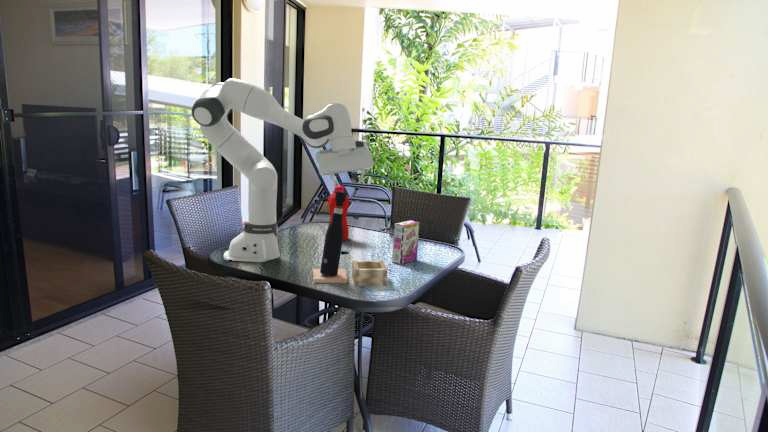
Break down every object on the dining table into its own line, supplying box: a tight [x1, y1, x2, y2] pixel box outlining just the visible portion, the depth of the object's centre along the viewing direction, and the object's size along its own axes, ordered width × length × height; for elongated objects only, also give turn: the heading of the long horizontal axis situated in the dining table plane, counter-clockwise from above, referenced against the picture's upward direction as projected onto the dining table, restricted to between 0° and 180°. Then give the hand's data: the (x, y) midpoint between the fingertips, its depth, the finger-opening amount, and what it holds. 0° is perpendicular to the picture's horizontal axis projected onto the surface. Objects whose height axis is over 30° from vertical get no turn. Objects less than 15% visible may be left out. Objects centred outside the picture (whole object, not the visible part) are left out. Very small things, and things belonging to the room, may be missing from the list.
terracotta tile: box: [312, 268, 348, 284], centre depth 213 cm, size 12×12×2 cm
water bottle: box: [324, 185, 350, 241], centre depth 267 cm, size 9×11×25 cm
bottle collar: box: [351, 260, 388, 287], centre depth 210 cm, size 12×12×6 cm
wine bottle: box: [319, 192, 347, 276], centre depth 210 cm, size 6×6×30 cm
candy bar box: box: [391, 220, 420, 265], centre depth 236 cm, size 11×5×16 cm, turn 141°
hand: (348, 183), depth 212 cm, fingers open, 8 cm apart
